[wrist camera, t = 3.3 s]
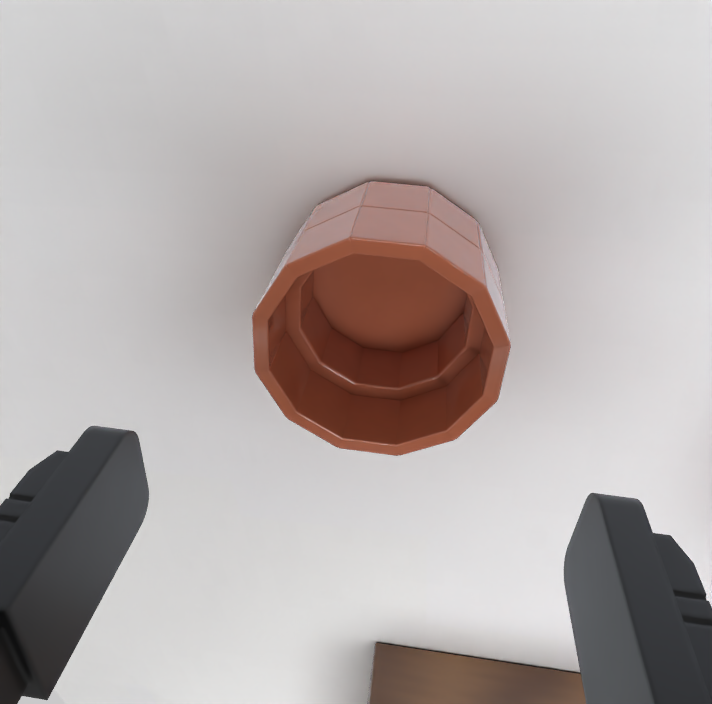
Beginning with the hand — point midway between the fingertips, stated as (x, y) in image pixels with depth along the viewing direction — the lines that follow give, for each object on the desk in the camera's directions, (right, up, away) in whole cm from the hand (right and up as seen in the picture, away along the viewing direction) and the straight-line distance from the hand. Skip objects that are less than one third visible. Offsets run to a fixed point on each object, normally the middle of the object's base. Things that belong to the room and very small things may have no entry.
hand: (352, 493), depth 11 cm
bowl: (+1, +5, +8) cm, 9 cm away
